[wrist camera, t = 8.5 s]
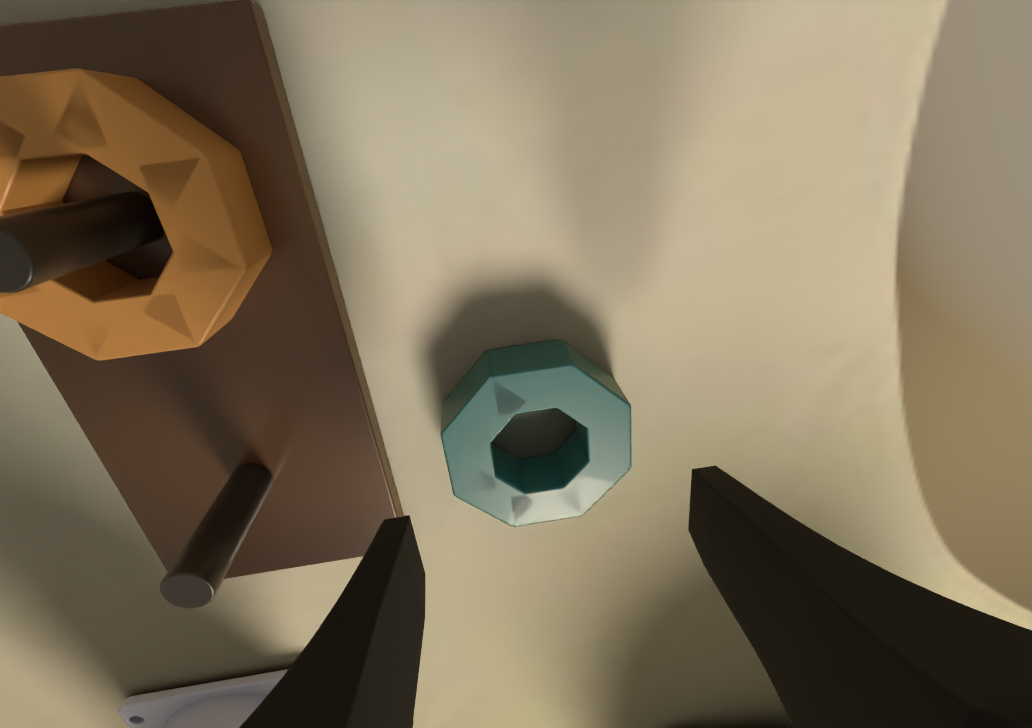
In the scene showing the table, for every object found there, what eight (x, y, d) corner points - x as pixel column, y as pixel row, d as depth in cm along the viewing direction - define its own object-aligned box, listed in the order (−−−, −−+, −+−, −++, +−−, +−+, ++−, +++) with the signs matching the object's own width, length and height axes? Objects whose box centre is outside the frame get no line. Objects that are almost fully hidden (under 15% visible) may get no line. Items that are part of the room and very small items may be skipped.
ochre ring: (294, 311, 13) (271, 337, 12) (76, 342, 13) (22, 372, 11) (214, 67, 11) (170, 56, 9) (-58, 98, 10) (-152, 92, 9)
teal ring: (616, 474, 18) (632, 508, 16) (461, 499, 18) (462, 536, 16) (613, 331, 15) (631, 354, 14) (432, 357, 15) (429, 384, 13)
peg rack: (408, 533, 18) (392, 667, 14) (187, 568, 18) (95, 718, 13) (262, 6, 11) (128, -79, 6) (-112, 46, 11) (-528, -13, 6)
